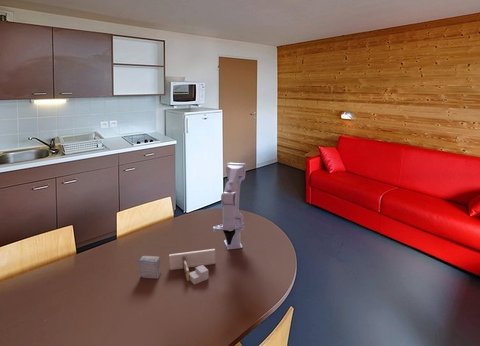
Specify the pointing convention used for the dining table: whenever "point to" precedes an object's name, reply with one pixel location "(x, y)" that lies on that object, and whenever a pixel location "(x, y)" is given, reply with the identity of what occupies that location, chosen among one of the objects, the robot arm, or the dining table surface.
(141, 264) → the medicine box
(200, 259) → the wall shelf
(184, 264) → the door
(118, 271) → the dining table surface
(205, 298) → the dining table surface
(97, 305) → the dining table surface
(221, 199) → the robot arm
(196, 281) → the pale grey notched block
